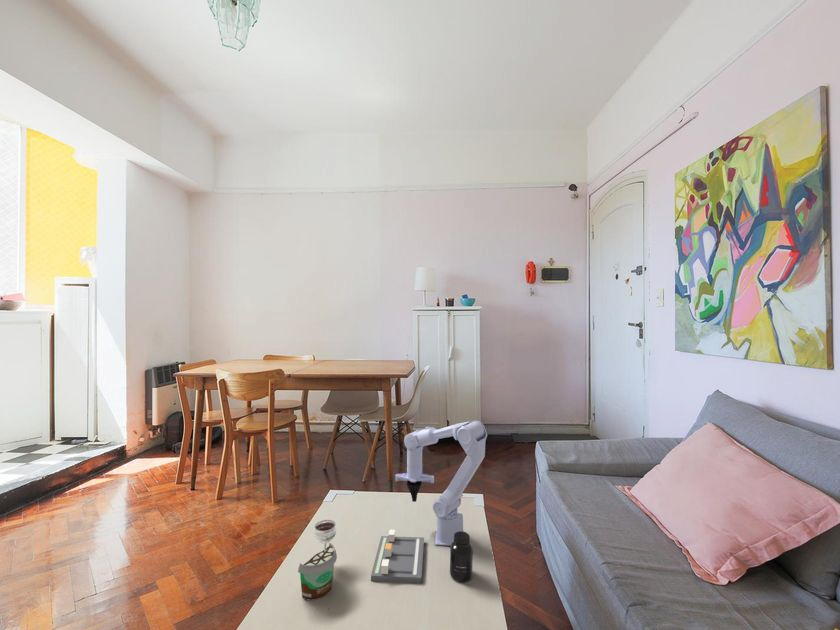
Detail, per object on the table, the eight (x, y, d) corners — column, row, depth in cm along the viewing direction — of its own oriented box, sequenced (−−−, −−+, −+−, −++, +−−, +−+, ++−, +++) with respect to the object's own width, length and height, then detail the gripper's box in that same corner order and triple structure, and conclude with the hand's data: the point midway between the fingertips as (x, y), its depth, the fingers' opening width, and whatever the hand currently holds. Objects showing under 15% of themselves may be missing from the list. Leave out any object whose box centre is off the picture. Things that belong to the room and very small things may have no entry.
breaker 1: (389, 567, 114) (389, 559, 114) (387, 574, 111) (387, 566, 111) (382, 567, 114) (382, 559, 114) (381, 573, 111) (381, 565, 111)
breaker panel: (424, 541, 130) (424, 537, 130) (421, 582, 110) (421, 577, 110) (381, 540, 131) (381, 535, 131) (370, 580, 111) (370, 575, 111)
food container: (313, 610, 99) (313, 572, 99) (297, 600, 103) (297, 564, 103) (345, 582, 110) (345, 548, 110) (330, 574, 113) (330, 541, 113)
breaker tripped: (392, 550, 122) (392, 543, 122) (391, 556, 119) (391, 549, 119) (386, 550, 122) (386, 543, 122) (384, 556, 119) (384, 548, 119)
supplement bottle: (458, 586, 109) (458, 544, 109) (445, 571, 115) (445, 532, 115) (477, 578, 112) (477, 538, 112) (464, 564, 118) (464, 526, 118)
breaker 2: (395, 536, 130) (395, 529, 130) (394, 541, 127) (394, 534, 127) (389, 536, 130) (389, 529, 130) (388, 541, 127) (388, 534, 127)
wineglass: (309, 567, 116) (309, 528, 116) (322, 554, 123) (322, 517, 123) (327, 572, 114) (328, 533, 114) (340, 559, 120) (340, 521, 120)
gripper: (393, 467, 137) (393, 504, 137) (433, 469, 135) (432, 506, 135) (397, 460, 144) (396, 495, 144) (434, 461, 142) (434, 497, 142)
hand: (414, 500), depth 140 cm, fingers closed
